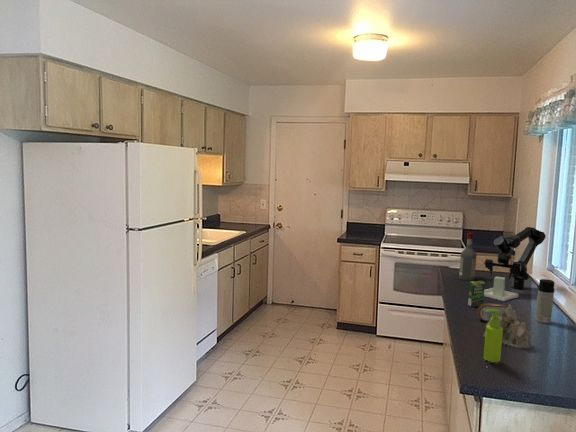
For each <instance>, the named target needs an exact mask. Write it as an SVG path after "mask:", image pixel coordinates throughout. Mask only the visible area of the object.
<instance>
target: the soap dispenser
mask: <svg viewBox="0 0 576 432" xmlns="http://www.w3.org/2000/svg"><path fill="white" fill-rule="evenodd" d="M485 311H486V312H488V313H489V312H493V317H491V318H490V325H487V326H486V325H485V331H486V333H485V339H484V346H483V349H484V350H483V358H484V359H485V360H488V361H491V362H499V361H500V362H501V355H502V346H503V345H502V335H503V328H502V327H500V319H499V318H498V312H501V311H500V310H498V309H487V310H485Z"/></svg>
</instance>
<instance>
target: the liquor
mask: <svg viewBox="0 0 576 432" xmlns="http://www.w3.org/2000/svg"><path fill="white" fill-rule="evenodd" d="M466 236H467V237H466V247H465V248H464V249H463V250H462V252H461V253H460V258H459V259H460V260H459V273H458V278H459V280H462V281H467V282H472V281H475V278H476V277H475V276H476V268H477V267H476V266H477V253H476V251H475V250H474V248H473V239H474V232H467V234H466Z"/></svg>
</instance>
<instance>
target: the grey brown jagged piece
mask: <svg viewBox="0 0 576 432" xmlns="http://www.w3.org/2000/svg"><path fill="white" fill-rule="evenodd" d="M507 305H508V306H507V309H506V310H505V311H504V313H503V315H502V317H500V316H499V313H498V318H499V319H500V327H502V328H503V335H502V342H503V343H504V344H508V345H511V346H515V347H529V348H530V344H529V342H530V338H532V336H531V334H530V333H529V330H528V328H527V325H526V322H520V321H519V320H518V316H517V313H516V312H517V311H516V310H513V308H512V304H507ZM492 317H493V315H492ZM487 325H490V321H487V322H486V324H485V327H486V326H487ZM485 333H486V330H485V331H484V333H483V335H482V337H483V336H484V337H485Z"/></svg>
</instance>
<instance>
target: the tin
mask: <svg viewBox="0 0 576 432" xmlns="http://www.w3.org/2000/svg"><path fill="white" fill-rule="evenodd" d="M507 307H508V306H507V304H502V303H491V302H490V303H489V302H487V303H486V302H485V303H483V304H482V305H480V306H477V309H476V313H477V316H478V318H479V319H480V320H482V321H484V322H489V321H490V318H491V317H492V315H493V312H489V313H488V312H486V311H485V310H487V309H498V310H500V311H501V312H498V313H499V316H500V317H502V315H503V313H504V311H505V310H506V309H507Z"/></svg>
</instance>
